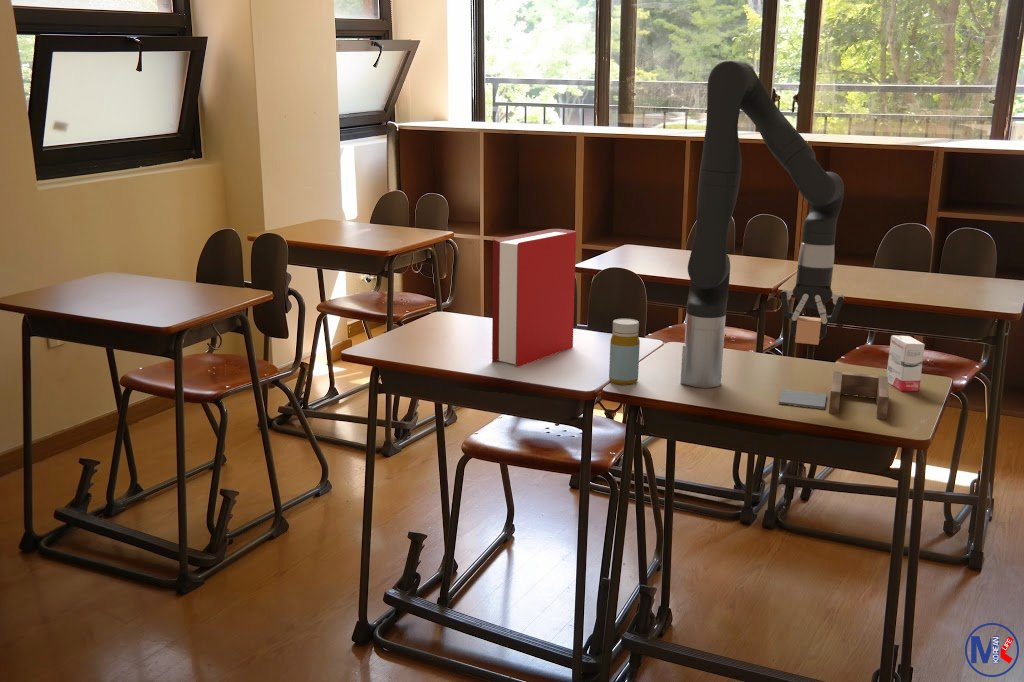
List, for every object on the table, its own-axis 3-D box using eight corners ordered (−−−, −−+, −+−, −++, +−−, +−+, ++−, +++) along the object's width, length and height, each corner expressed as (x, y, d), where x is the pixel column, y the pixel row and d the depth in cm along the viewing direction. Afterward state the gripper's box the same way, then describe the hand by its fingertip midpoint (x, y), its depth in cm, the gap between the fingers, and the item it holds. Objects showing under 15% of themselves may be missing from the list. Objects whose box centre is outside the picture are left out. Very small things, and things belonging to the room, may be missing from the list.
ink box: (920, 391, 230) (926, 343, 227) (900, 391, 230) (905, 343, 227) (904, 381, 239) (909, 334, 236) (884, 381, 238) (889, 334, 235)
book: (516, 367, 246) (518, 242, 238) (492, 362, 250) (493, 239, 242) (575, 346, 267) (579, 231, 259) (551, 341, 272) (554, 228, 264)
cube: (795, 342, 216) (797, 320, 215) (796, 337, 221) (798, 316, 220) (818, 344, 215) (820, 323, 213) (819, 339, 219) (821, 318, 218)
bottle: (613, 376, 239) (616, 317, 236) (641, 379, 237) (643, 319, 233) (605, 383, 233) (607, 323, 229) (633, 387, 231) (636, 326, 227)
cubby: (828, 412, 214) (830, 391, 213) (831, 391, 229) (833, 371, 228) (886, 419, 210) (888, 397, 209) (885, 397, 226) (887, 376, 224)
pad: (778, 404, 219) (778, 401, 219) (782, 391, 228) (782, 389, 228) (824, 409, 216) (824, 406, 216) (826, 396, 225) (826, 394, 225)
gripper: (850, 263, 215) (841, 337, 219) (783, 258, 220) (776, 330, 224) (849, 269, 208) (840, 345, 213) (780, 263, 213) (773, 337, 217)
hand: (807, 337), depth 218 cm, fingers closed on cube, 5 cm apart
